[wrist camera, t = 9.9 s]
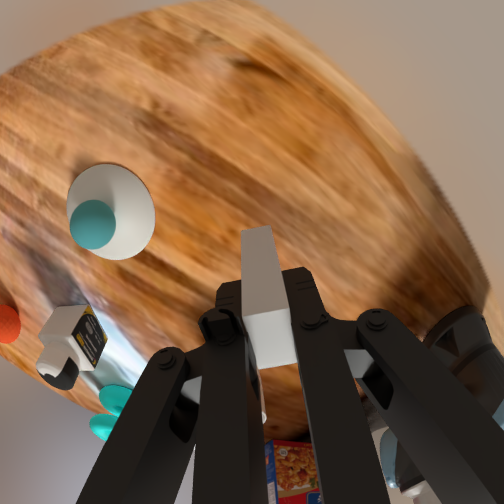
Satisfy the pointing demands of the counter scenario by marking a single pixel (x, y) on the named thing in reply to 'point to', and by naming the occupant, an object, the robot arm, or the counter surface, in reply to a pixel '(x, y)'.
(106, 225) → the ball
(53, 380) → the medicine bottle
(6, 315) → the clementine
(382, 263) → the counter surface
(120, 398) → the donuts
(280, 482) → the pasta box
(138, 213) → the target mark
